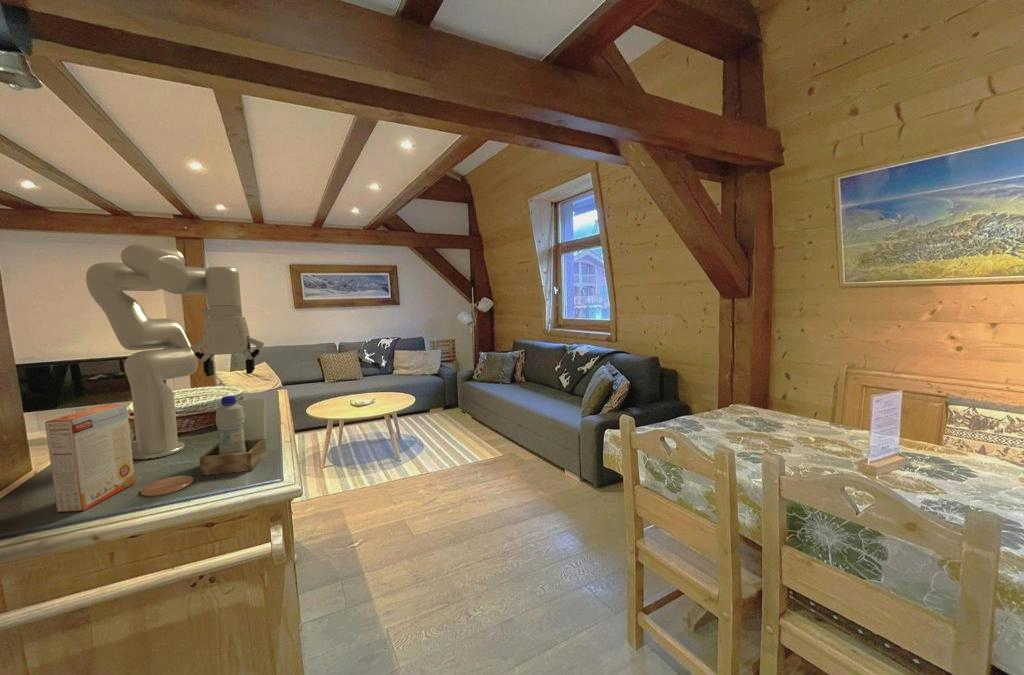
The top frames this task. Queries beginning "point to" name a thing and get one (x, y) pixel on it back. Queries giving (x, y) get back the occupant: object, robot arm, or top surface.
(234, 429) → the bottle
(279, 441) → the top surface
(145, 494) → the saucer
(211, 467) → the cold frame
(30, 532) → the top surface
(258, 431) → the lid
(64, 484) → the cracker box
